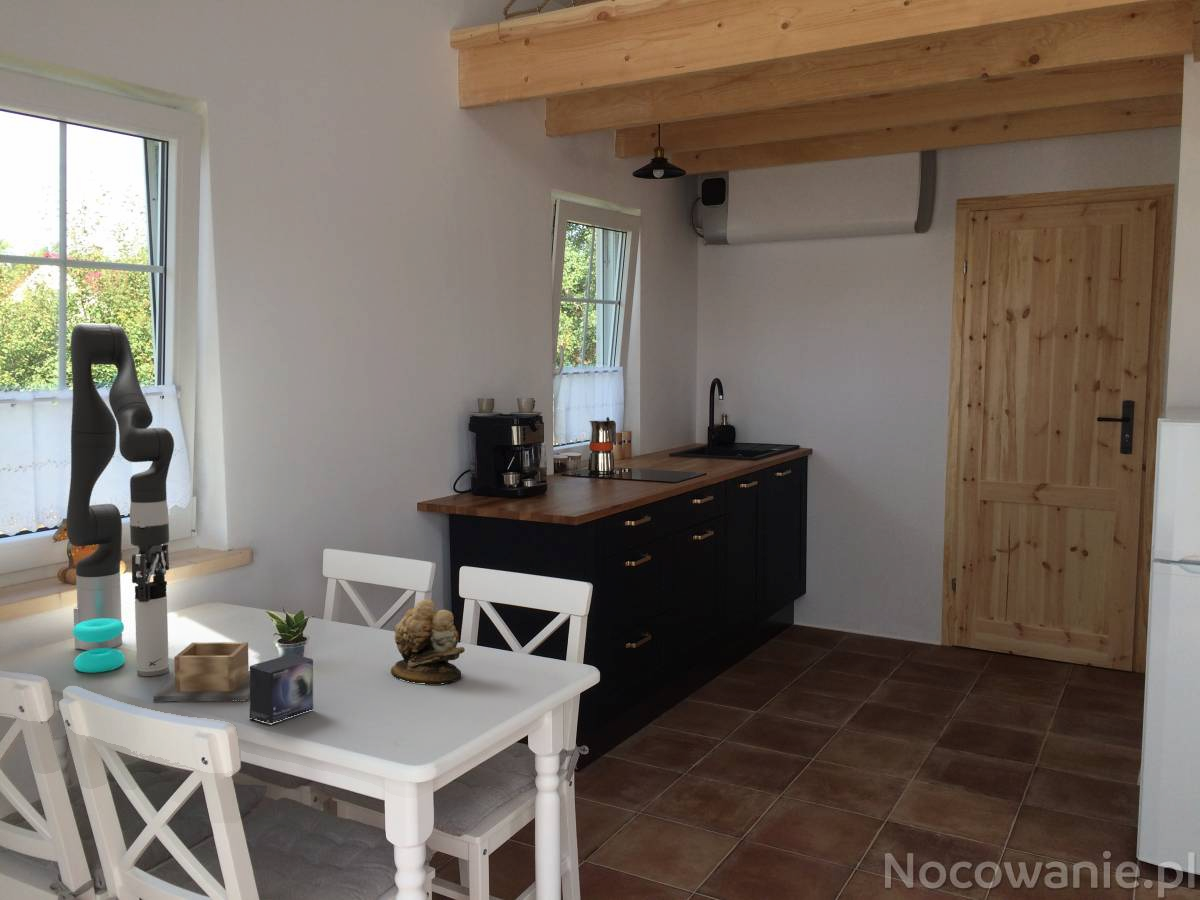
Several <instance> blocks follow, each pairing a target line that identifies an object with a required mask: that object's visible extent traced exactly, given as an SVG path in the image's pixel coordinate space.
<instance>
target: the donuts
mask: <svg viewBox="0 0 1200 900" xmlns="http://www.w3.org/2000/svg"><path fill="white" fill-rule="evenodd" d="M124 628H125V627H124V623H123V622H121V621H120V620H117V619H111V618H101V619H92V620H87V621H83V622H81V623H79V624H77V625H76V626H75V627H74V626H73V629H72V635H73V637H74V636H75V637H76V638H77V639H78V640H81V641H84V642H102V641H107V640H111V639H114V638H116V637H117V636H119V635H120V634H121V633H122V634H123V632H124ZM125 660H126V657H125V654H124V653H123V652H122V651H121V650H119V649H116V648H114V647H113V648H97V649H92V650H84V651H83V652H82V653H80V654H78V655H77V656H76V657H75V659H74V661H73V666H74V668H75V669H76V671H79V672H82V673H90V674H93V673H105V672H109V671H113V670H115V669H118V668H120V667H121V666H122V665H123V664H124V663H125Z"/></svg>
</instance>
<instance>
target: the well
mask: <svg viewBox="0 0 1200 900" xmlns="http://www.w3.org/2000/svg"><path fill="white" fill-rule="evenodd" d="M173 658H174V663H173V664H174V678H172V679H171V680H170V681H169V682H168V683H166V685H164V686H163V687H162V688H161V689H160V690H158V692H157V691H156V693H155V694H154V695H153V696H152V697H153V698H152V699H153V701H202V702H203V701H228V702H241V701H240V700H247V699H248V698H249V697H250V666H249V642H247V641H246V642H241V641H239V642H238V641H237V642H234V641H233V642H224V641H223V642H217V641H216V642H209V641H208V642H191V643H190V644H189V645H188V646H186V647H185V648H184V649H182V650H181V651H180V652H178V653H177V654H176V655H175V656H174V657H173ZM249 699H250V698H249ZM249 699H248V700H249ZM233 700H234V701H233ZM235 700H237V701H235ZM238 700H239V701H238ZM248 700H247V701H248ZM153 701H152V702H153Z"/></svg>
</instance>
